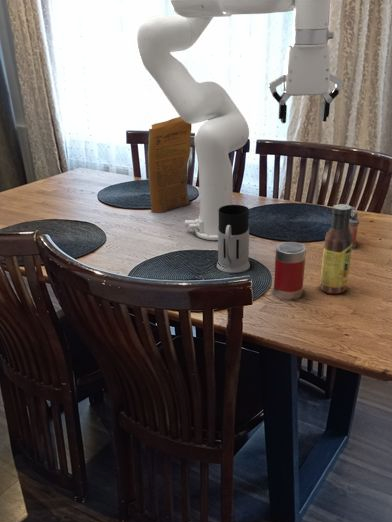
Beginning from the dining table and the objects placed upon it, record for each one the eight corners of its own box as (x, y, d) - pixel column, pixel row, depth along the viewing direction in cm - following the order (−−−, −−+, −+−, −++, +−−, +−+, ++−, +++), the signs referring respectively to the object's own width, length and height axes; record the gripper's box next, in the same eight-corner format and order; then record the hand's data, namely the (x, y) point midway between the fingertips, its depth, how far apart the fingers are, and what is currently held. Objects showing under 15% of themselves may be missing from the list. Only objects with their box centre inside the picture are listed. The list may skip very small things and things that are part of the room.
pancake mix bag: (200, 202, 182) (198, 114, 166) (156, 216, 172) (149, 124, 156) (187, 198, 186) (184, 112, 170) (143, 211, 176) (136, 121, 160)
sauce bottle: (346, 296, 123) (358, 212, 112) (319, 294, 124) (328, 211, 113) (345, 283, 128) (357, 202, 117) (319, 281, 129) (328, 201, 118)
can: (276, 300, 122) (278, 253, 116) (271, 287, 128) (273, 241, 121) (304, 299, 122) (309, 251, 116) (299, 286, 128) (302, 240, 122)
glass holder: (252, 259, 141) (253, 204, 133) (244, 283, 130) (245, 224, 122) (220, 257, 143) (219, 203, 135) (209, 281, 132) (208, 223, 123)
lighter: (337, 237, 152) (341, 203, 147) (348, 237, 152) (353, 202, 147) (346, 248, 145) (350, 213, 140) (358, 248, 146) (363, 212, 140)
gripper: (343, 36, 120) (335, 116, 130) (267, 39, 120) (264, 119, 130) (353, 38, 114) (343, 123, 124) (273, 41, 114) (269, 126, 123)
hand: (303, 121), depth 127 cm, fingers open, 9 cm apart
